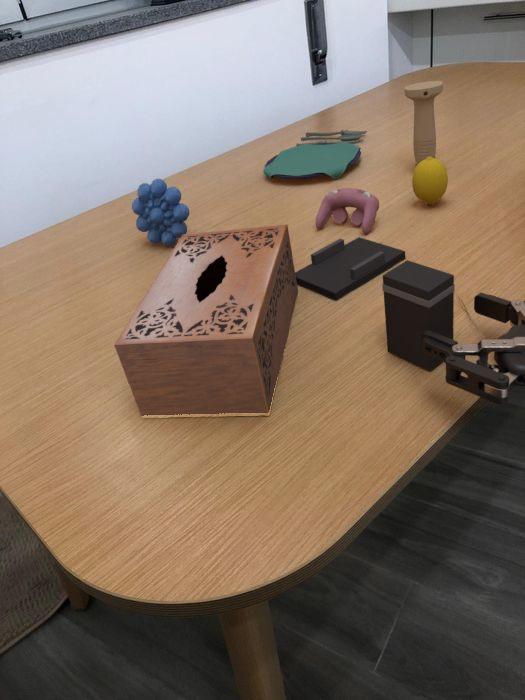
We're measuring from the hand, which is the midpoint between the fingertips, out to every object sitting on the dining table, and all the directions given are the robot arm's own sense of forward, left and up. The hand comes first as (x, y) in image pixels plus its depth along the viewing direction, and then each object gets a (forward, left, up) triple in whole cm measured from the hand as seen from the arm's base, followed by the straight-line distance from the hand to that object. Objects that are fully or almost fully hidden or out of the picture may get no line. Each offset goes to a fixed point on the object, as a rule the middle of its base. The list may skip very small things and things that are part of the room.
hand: (450, 320), depth 61 cm
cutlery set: (+7, -76, -6) cm, 77 cm away
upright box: (+3, -3, -6) cm, 7 cm away
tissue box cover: (+25, -10, -6) cm, 27 cm away
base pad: (+8, -25, -6) cm, 27 cm away
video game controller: (+6, -40, -6) cm, 41 cm away
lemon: (-8, -43, -6) cm, 44 cm away
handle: (-11, -59, -6) cm, 61 cm away
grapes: (+36, -45, -6) cm, 58 cm away
